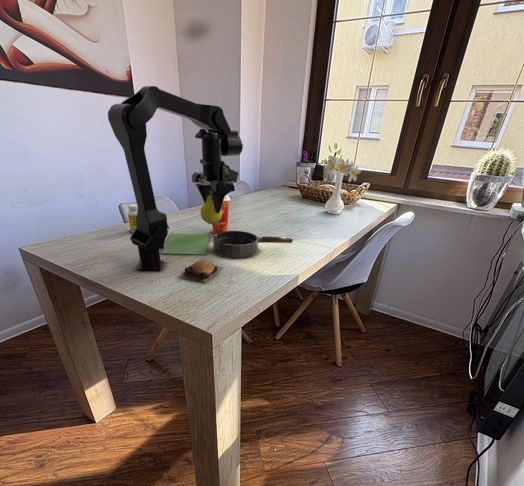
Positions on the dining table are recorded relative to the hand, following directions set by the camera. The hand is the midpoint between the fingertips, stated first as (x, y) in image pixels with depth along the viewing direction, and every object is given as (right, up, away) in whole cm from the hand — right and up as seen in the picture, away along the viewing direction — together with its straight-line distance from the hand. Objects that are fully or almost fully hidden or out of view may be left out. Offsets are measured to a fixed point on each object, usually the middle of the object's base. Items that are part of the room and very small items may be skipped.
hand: (213, 210), depth 100 cm
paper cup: (-1, -2, +21) cm, 21 cm away
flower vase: (+53, +19, +58) cm, 81 cm away
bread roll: (-2, -22, -11) cm, 25 cm away
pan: (+7, -12, +6) cm, 15 cm away
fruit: (-1, -4, +2) cm, 5 cm away
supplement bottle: (-31, -2, +18) cm, 36 cm away
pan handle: (+20, -9, +5) cm, 23 cm away
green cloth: (-10, -9, +9) cm, 16 cm away
